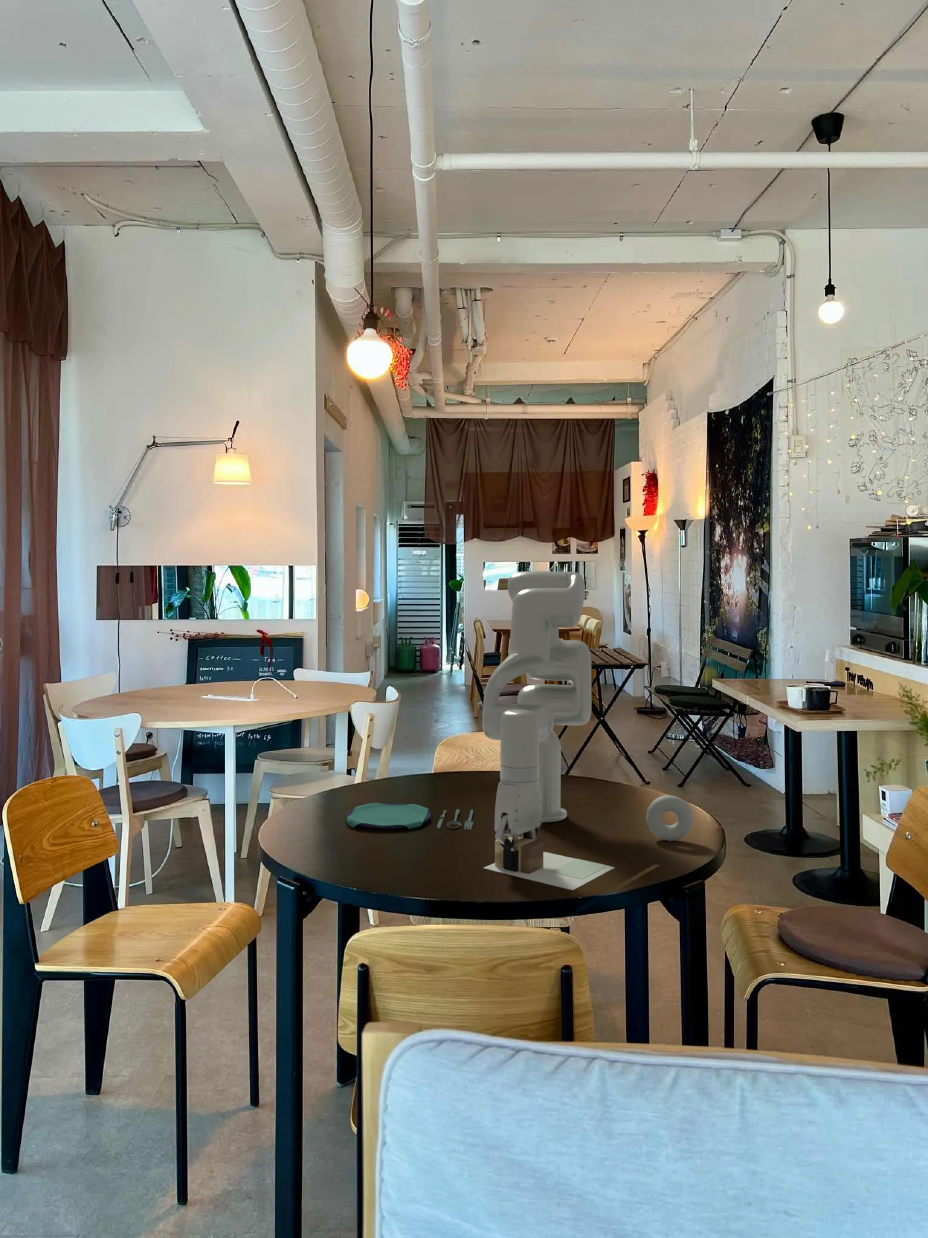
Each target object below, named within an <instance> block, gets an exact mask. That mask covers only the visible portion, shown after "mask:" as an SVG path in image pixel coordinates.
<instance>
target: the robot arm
mask: <svg viewBox="0 0 928 1238" xmlns="http://www.w3.org/2000/svg"><path fill="white" fill-rule="evenodd" d="M507 590H508V596H509V598H510V600H511V602H512V609H511V621H510V622H511V623H510V636H509V649H508V655H507V657H505V659H504V660H503V661H502V662H501V663H500V664H499V665H498V666H497V667H496V668H495V670H494V671H493V672H492V673H491V675H490V677H489V679H488V681H487V683H486V686H485V690H484V694H483V695H484V696H483V703H482V704H483V707H482V717H481V725H482V726H481V727H482V730H483V733H484V735H485V737H487V738H488V739H490V740H495V741H500V742H499V745H500V746H499V747H500V749H499V750H500V753H499V755H500V756H499V758H500V759H499V761H500V764H499V772H500V774H499V779H500V782H498V785H497V791H496V797H495V807H494V831H495V835H494V839H495V840H497V841H499V843H500V844H501V848H502V849H503V868H504V869H506V870H510V871H514V872H516V871H518V851H517V850H516V848H517V842H518V837H523V838H528V839H532V840H537V835H538V832H539V829H540V827H541V826H542V824H543V823H553V822H560V821H563V820H564V819H566V818H567V816H568V812H567V810H566V809H565V808H562V807H561V788H562V787H561V783H562V781H561V779H562V777H561V776H562V775H561V774H562V772H561V771H562V770H561V769H562V767H561V765H562V764H561V762H562V759H561V758H562V756H561V755H562V746H561V740H560V739H559V737H558V735H557V734H556V732H555V731H554V727H555V726H584V725H586V724H588V723H589V721H590V719H591V717H592V702H593V701H592V695H593V694H592V655H591V651H590V649H589V646H588V645H587V643H585V642H584V641H581V640H573V639H571V640H566V639H560V637H559V633H560V632H559V631H560V630H559V629H560V628H575V627H577V625H578V624H579V622H580V621H581V618H582V613H583V607H584V602H585V595H586V584H585V579H584V576H582V575H581V574H580V573H578V572H577V571H549V570H548V571H541V570H535V571H530V570H529V571H519V572H515V573H513V574H511V575H510V576H509V578H508V581H507ZM522 675H525V676H527V678H530V679H532V680H537V681H555V682H556V681H557V682H558V681H568V682H569V683H571V684H569V685H568V684H553V683H552V684H546V683H537V684H529V685H526V686H523V687H522V689H520V690H519V692H518V694H517V703H516V702H515V703H510V702H509V703H507V702H506V703H505V702H499V698H500V694H501V691H502V690H503V689H504V687H505V686H507V684H509V682H512V681H513V680H514V679H516V678H519V677H521V676H522ZM520 835H521V836H520ZM508 837H513V838H512V842H511V841H510V840H509V839H508ZM537 841H538V840H537Z"/></svg>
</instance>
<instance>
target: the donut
mask: <svg viewBox="0 0 928 1238" xmlns="http://www.w3.org/2000/svg"><path fill="white" fill-rule="evenodd" d="M666 812H672V813H674V814H675V815H676V819H677V820H676V822H675V823H674V824H670V825H668V824H666V823H664V821H663V820H662V817H663V815H664V813H666ZM645 821H646V825H647V827H648V829H649V831H650V832H651V833H652V834H653V835H654V836H655V837H657V838H658V839H660V840H662V841H666V840H667V841H666V842H675V840H676V841H678V840H681V839H683V838H684V837H686V835H688V834H689V833H690V830H691V829H692V827H693V824H694V816H693V811H692V809H691V807H690V805H689V804H688V802H686V801H685V800H684V799H682V798H680V797H679V796H675V795H671V794H670V795H669V794H667V795H661V796H659V797H657V798H655V799H654V800H653V801H652V802H651V803H650V805H649V806H648V808H647V810H646V816H645Z"/></svg>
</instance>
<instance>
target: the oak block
mask: <svg viewBox="0 0 928 1238" xmlns="http://www.w3.org/2000/svg"><path fill="white" fill-rule="evenodd" d="M512 838H513V837H508V839H509V840H510V841H511V842H512ZM516 850H517V851H518V871H519V872H523V873H527V874H530V873H532V872H535V871H537V870H539V869H541V868H543V852H544V841H541V840H532V839H528V838H523V837H521V836H518V842H517V848H516ZM494 863H495V866H498V867H502V868H503V849H502V848H501V844H500V843H499V841H497V840H496V839H495V840H494Z"/></svg>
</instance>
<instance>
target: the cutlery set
mask: <svg viewBox="0 0 928 1238" xmlns="http://www.w3.org/2000/svg"><path fill="white" fill-rule="evenodd" d="M429 809H430V808H427V807H424V806H422V805H419V804H416V803H415V804H414V803H409V804H406V803H396V802H393V803H389V802H388V803H385V802H382V803H380V802H370V803H366V804H362V805H357V806H355V807H354V808H352V809H350V810H348V811H347V812H346V816H345V817H346V823H347V825H348V826H349V827H350V828H351V827H353V828H354V829H355V826H361V827H365V828H366V827H367V828H375V829H402V828H407V829H408V830H411V829H415V828H416V829H417V828H419V827H421V826H422V825H423V823H426V822H428V820H430V818H431V812H430V811H429ZM459 813H460V809H459V808H456V810H455V813H454V820H451V821H448V822H447V823H446V826H447V828H448V829H451V830H456V829H459V828H460V827H461V826H462V824H461V822H460V821H458V820H457V819H458V817H459ZM446 814H447V809H444V810H443V812H442V815H440V816H439V820H438V822H437V825H436V827H437V829H438V830H441V827H442V824H443V822H444V821H445V819H446V817H445V815H446ZM473 815H474V809H470V811H469V816H468V819H467V820H464V831H465V830H467V831H469V830H470V831H471V830H472V827H473V826H474V820H473V821H472V819H473ZM453 824H454V825H457V826H456V827H450V825H453ZM353 828H352V829H353Z"/></svg>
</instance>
